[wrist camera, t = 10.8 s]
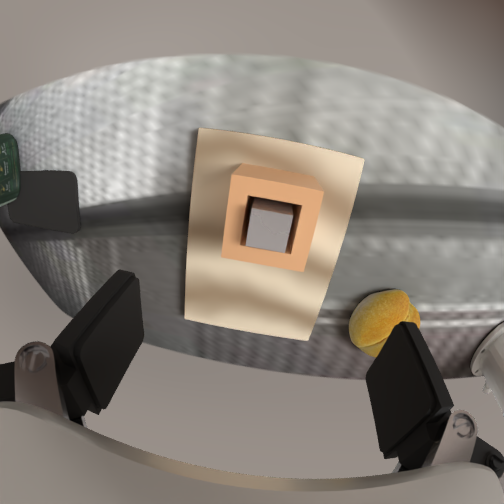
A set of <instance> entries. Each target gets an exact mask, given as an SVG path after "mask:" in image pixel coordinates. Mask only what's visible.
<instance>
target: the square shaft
mask: <svg viewBox="0 0 504 504" xmlns="http://www.w3.org/2000/svg"><path fill="white" fill-rule="evenodd" d="M292 219H293V211H292V205H291V203H288V202H283V201H277V200H272V199H266V198H261V197H255V199H254V203H253V206H252V210H251V216H250V222H249V228H248V234H247V240H246V246H249V247H255V248H260V249H265V250H271V251H276V252H282V253H285V250H286V246H287V241H288V237H289V233H290V228H291V224H292Z"/></svg>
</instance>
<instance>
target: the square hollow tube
mask: <svg viewBox="0 0 504 504" xmlns="http://www.w3.org/2000/svg"><path fill="white" fill-rule="evenodd" d="M323 195H324V190H323V189H322V188H321V186H320V185H319V183H318V182H317V180H316V179H315V177H314V176H310V175H305V174H300V173H295V172H290V171H285V170H279V169H274V168H268V167H263V166H257V165H251V164H245V163H242V164H241V165H240V166H239V167H238V168H237V169H236V170H235V171H234V172H233V173H232V175H231V183H230V190H229V197H228V205H227V212H226V220H225V228H224V236H223V245H222V253H221V257H222V258H227V259H233V260H238V261H244V262H249V263H255V264H260V265H266V266H271V267H277V268H283V269H288V270H294V271H300V272H304V269H305V265H306V262H307V258H308V254H309V251H310V247H311V243H312V239H313V235H314V231H315V227H316V224H317V220H318V215H319V211H320V207H321V203H322V199H323ZM252 196H255V197H261V198H266V199H272V200H277V201H283V202H288V203H293V209H292V211H293V219H292V224H291V228H290V233H289V237H288V241H287V246H286V250H285V253H282V252H276V251H271V250H265V249H260V248H255V247H249V246H246V240H247V234H248V228H249V222H250V220H249V219H248V216H249V210H250V203H251V197H252Z"/></svg>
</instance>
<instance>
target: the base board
mask: <svg viewBox="0 0 504 504" xmlns="http://www.w3.org/2000/svg"><path fill="white" fill-rule="evenodd" d="M364 160H365V159H363V158H360V157H356V156H353V155H349V154H345V153H341V152H337V151H333V150H329V149H325V148H321V147H317V146H312V145H308V144H303V143H298V142H293V141H288V140H283V139H278V138H272V137H266V136H260V135H254V134H248V133H241V132H234V131H226V130H218V129H209V128H199V131H198V139H197V147H196V155H195V164H194V173H193V183H192V193H191V204H190V216H189V230H188V245H187V263H186V286H185V319H188V320H193V321H197V322H202V323H207V324H211V325H216V326H221V327H226V328H232V329H237V330H242V331H248V332H253V333H259V334H265V335H271V336H278V337H284V338H291V339H298V340H306V341H308V339H309V337H310V334H311V332H312V329H313V326H314V324H315V321H316V319H317V316H318V313H319V310H320V308H321V305H322V302H323V299H324V297H325V294H326V291H327V288H328V285H329V282H330V279H331V276H332V273H333V270H334V267H335V264H336V261H337V258H338V255H339V252H340V249H341V245H342V242H343V239H344V235H345V232H346V229H347V225H348V222H349V218H350V215H351V211H352V208H353V204H354V200H355V196H356V193H357V189H358V185H359V181H360V177H361V173H362V169H363V164H364ZM242 163H245V164H251V165H257V166H263V167H268V168H274V169H279V170H285V171H290V172H295V173H300V174H305V175H310V176H314V177H315V179H316V180H317V182H318V183H319V185H320V186H321V188H322V189H323V190H324V195H323V199H322V203H321V207H320V211H319V215H318V220H317V224H316V227H315V231H314V235H313V239H312V243H311V247H310V251H309V254H308V258H307V262H306V265H305V269H304V272H300V271H294V270H288V269H283V268H277V267H271V266H266V265H260V264H255V263H249V262H244V261H238V260H233V259H227V258H222V257H221V253H222V245H223V236H224V228H225V220H226V212H227V205H228V197H229V190H230V183H231V175H232V173H233V172H234V171H235V170H236V169H237V168H238V167H239V166H240V165H241V164H242ZM254 199H255V196H252V197H251V203H250V210H249V216H248V219H249V220H250V216H251V210H252V206H253V203H254ZM291 205H292V209H293V203H291Z"/></svg>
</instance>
